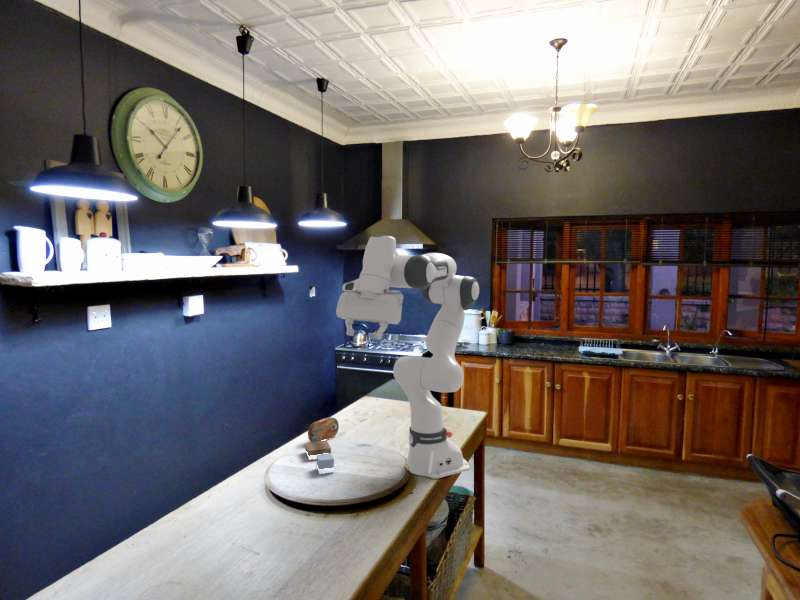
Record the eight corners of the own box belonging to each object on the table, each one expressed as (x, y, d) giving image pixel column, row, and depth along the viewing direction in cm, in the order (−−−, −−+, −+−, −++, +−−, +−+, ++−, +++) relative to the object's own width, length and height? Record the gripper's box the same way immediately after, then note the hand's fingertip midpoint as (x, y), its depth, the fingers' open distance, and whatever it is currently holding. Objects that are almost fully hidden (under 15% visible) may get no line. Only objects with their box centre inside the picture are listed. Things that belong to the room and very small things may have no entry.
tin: (311, 446, 187) (311, 425, 187) (306, 444, 189) (306, 423, 189) (339, 435, 199) (339, 415, 199) (333, 434, 201) (333, 414, 201)
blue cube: (330, 467, 169) (330, 453, 169) (333, 473, 164) (333, 458, 164) (316, 469, 167) (316, 455, 167) (319, 475, 163) (319, 460, 162)
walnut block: (326, 450, 184) (326, 440, 184) (330, 458, 177) (330, 448, 176) (305, 453, 182) (305, 442, 181) (308, 461, 174) (308, 450, 174)
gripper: (409, 293, 134) (400, 342, 131) (351, 290, 145) (341, 335, 142) (398, 287, 129) (388, 338, 126) (338, 284, 139) (328, 331, 137)
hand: (363, 336), depth 134 cm, fingers open, 8 cm apart
